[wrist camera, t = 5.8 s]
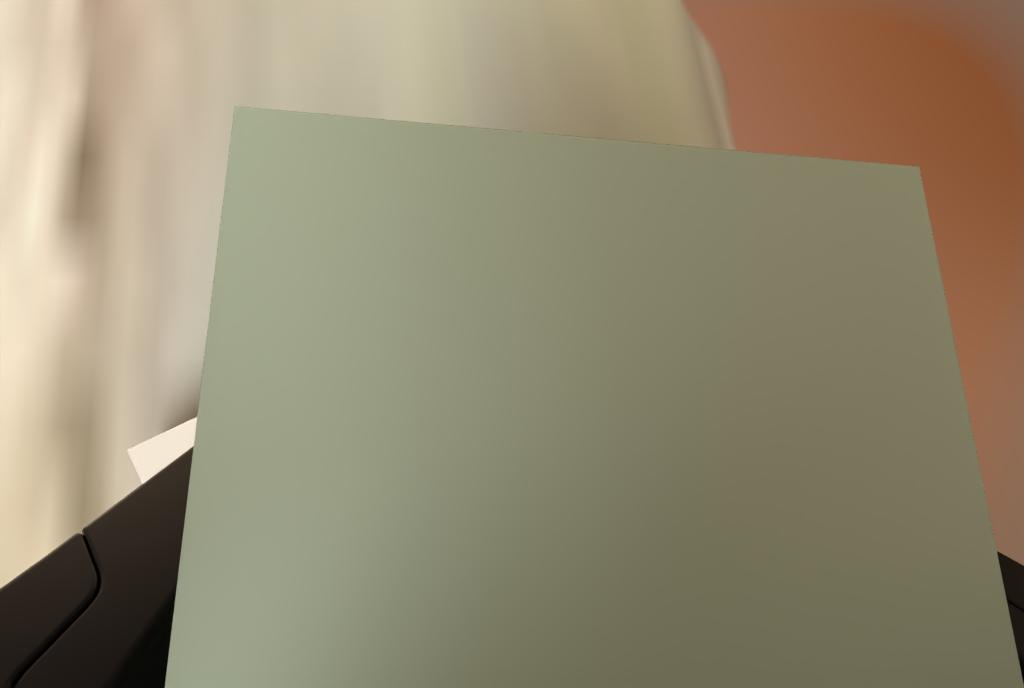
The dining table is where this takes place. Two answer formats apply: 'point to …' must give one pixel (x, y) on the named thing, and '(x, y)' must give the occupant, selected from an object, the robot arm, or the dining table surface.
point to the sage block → (578, 422)
